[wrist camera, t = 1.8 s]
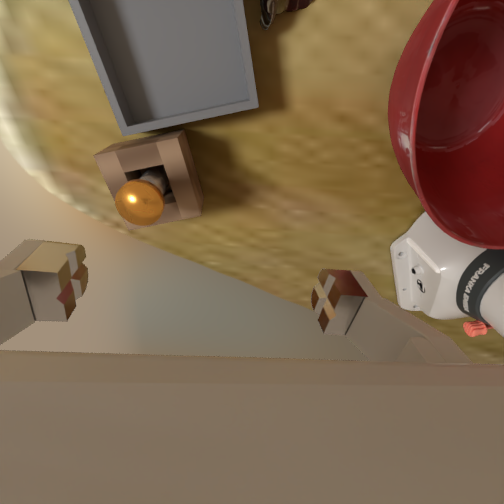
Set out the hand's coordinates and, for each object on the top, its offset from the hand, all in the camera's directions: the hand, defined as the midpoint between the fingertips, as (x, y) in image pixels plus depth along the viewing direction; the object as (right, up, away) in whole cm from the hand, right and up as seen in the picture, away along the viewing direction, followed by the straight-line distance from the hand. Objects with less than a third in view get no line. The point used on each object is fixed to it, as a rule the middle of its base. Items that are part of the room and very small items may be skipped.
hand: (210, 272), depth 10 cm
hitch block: (-10, +11, +27) cm, 31 cm away
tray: (-7, +23, +20) cm, 31 cm away
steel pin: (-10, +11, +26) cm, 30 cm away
